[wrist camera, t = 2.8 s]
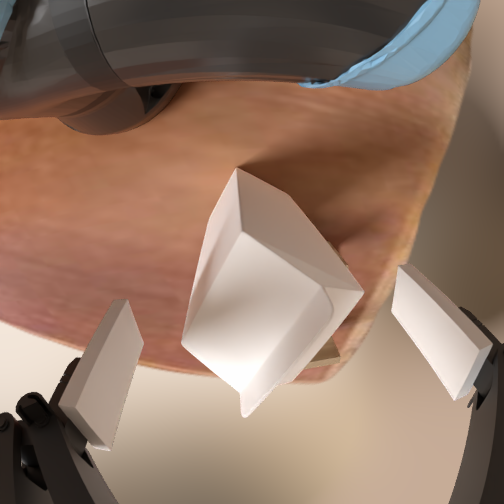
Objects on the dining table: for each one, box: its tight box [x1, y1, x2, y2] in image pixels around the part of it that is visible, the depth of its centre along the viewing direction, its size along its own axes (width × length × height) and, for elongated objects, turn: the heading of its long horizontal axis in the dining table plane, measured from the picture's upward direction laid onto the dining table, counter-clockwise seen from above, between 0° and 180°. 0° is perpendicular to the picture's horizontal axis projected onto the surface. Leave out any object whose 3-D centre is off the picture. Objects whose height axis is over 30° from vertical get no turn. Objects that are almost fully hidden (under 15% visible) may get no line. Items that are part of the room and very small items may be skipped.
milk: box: [181, 167, 364, 417], centre depth 19 cm, size 6×6×22 cm
